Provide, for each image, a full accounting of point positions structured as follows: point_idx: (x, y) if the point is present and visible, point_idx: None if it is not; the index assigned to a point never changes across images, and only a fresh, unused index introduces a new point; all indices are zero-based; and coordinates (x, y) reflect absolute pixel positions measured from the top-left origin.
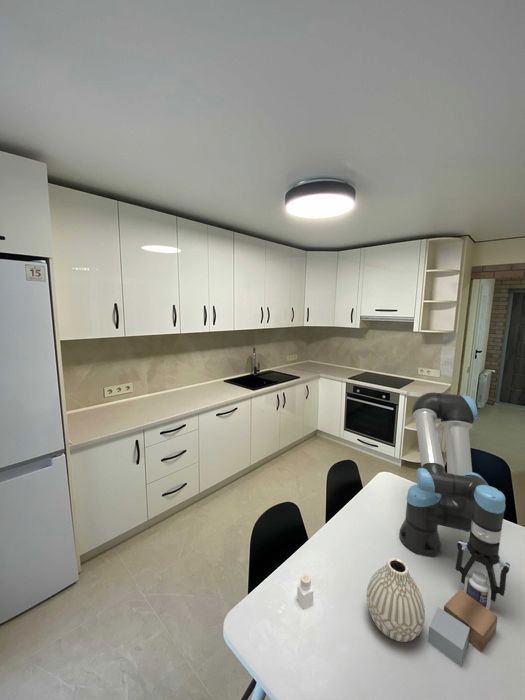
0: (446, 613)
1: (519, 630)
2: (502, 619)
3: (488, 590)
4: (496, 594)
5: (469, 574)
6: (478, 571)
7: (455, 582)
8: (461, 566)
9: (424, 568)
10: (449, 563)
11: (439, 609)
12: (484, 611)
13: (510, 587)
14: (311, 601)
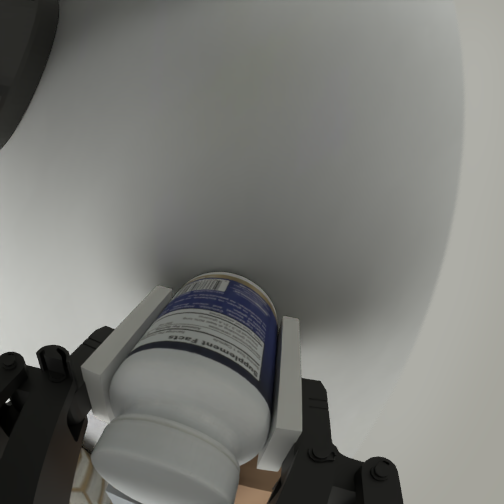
0: (130, 502)
1: (406, 361)
2: (348, 350)
3: (258, 467)
4: (328, 418)
5: (98, 380)
6: (128, 458)
7: (115, 229)
8: (21, 391)
9: (15, 231)
10: (83, 87)
11: (111, 495)
12: (239, 495)
13: (426, 56)
14: None
